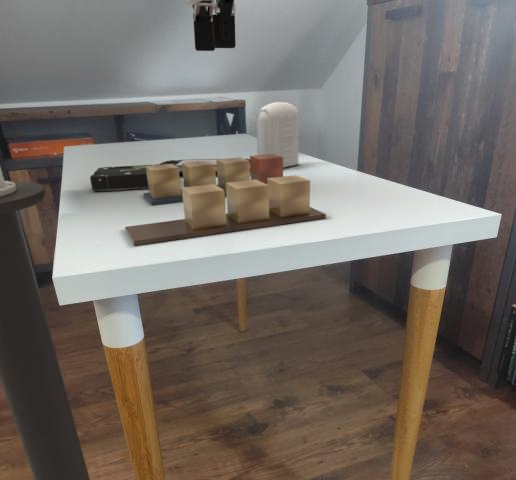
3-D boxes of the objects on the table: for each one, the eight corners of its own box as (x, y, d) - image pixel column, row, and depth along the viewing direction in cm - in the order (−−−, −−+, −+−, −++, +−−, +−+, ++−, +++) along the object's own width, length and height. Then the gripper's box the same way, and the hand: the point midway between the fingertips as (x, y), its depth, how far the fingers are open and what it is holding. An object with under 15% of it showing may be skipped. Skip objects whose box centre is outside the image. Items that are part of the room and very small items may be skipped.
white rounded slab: (285, 163, 108) (285, 100, 102) (301, 164, 106) (301, 100, 100) (254, 170, 101) (252, 103, 95) (270, 172, 99) (269, 104, 93)
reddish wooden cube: (260, 186, 84) (259, 159, 82) (250, 181, 87) (249, 155, 85) (283, 183, 85) (283, 156, 83) (273, 179, 89) (273, 153, 87)
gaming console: (155, 178, 98) (154, 164, 97) (167, 169, 106) (165, 157, 104) (252, 176, 96) (251, 162, 95) (256, 168, 104) (256, 155, 102)
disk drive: (92, 193, 87) (176, 187, 89) (89, 177, 86) (174, 170, 87) (100, 182, 96) (176, 176, 98) (97, 167, 95) (174, 161, 96)
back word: (151, 205, 77) (147, 172, 75) (143, 196, 83) (139, 165, 80) (290, 188, 85) (290, 158, 82) (274, 181, 90) (273, 152, 88)
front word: (134, 245, 59) (127, 203, 57) (125, 231, 65) (119, 192, 62) (325, 218, 67) (327, 180, 65) (303, 207, 73) (303, 172, 70)
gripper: (166, -83, 73) (176, 51, 81) (198, -121, 59) (207, 46, 67) (215, -79, 75) (220, 51, 83) (257, -114, 61) (258, 47, 69)
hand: (214, 49), depth 75 cm, fingers open, 9 cm apart
